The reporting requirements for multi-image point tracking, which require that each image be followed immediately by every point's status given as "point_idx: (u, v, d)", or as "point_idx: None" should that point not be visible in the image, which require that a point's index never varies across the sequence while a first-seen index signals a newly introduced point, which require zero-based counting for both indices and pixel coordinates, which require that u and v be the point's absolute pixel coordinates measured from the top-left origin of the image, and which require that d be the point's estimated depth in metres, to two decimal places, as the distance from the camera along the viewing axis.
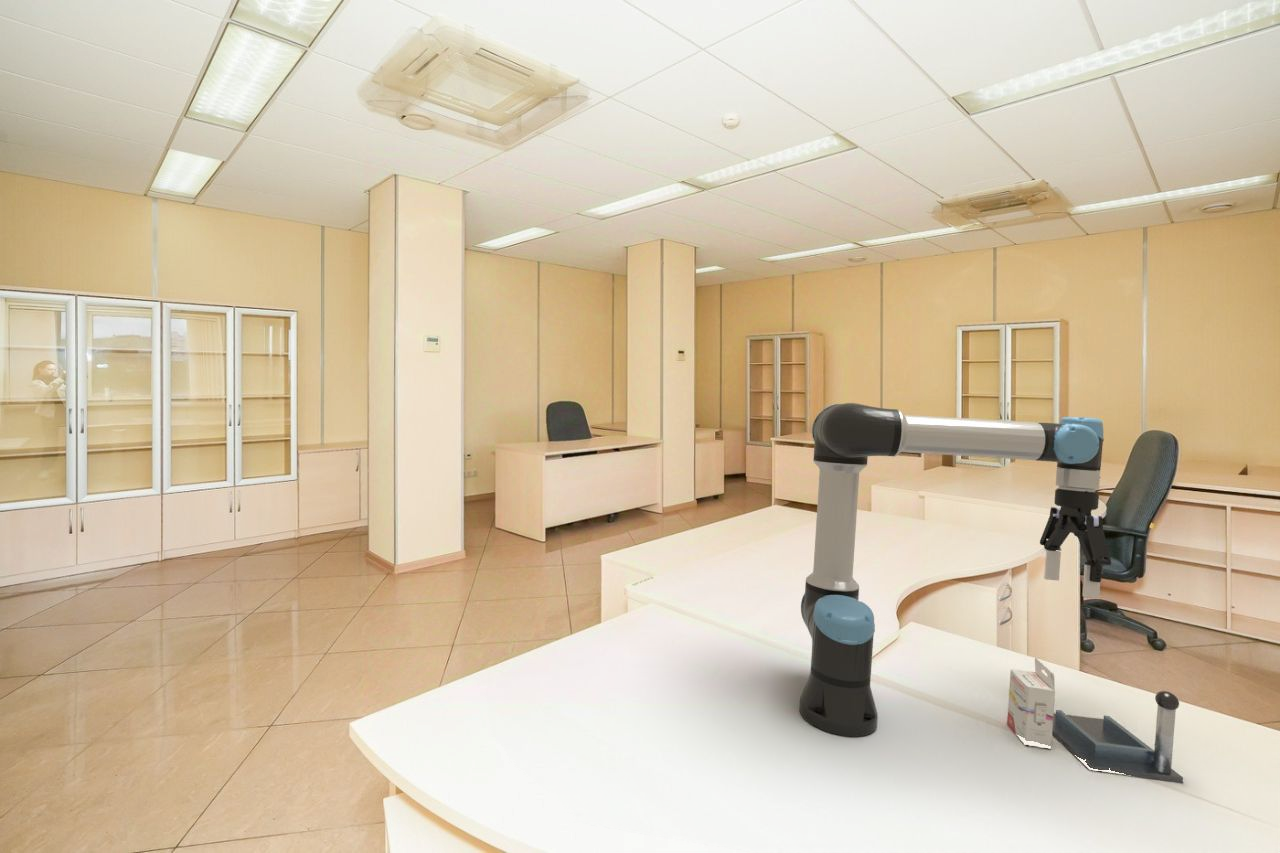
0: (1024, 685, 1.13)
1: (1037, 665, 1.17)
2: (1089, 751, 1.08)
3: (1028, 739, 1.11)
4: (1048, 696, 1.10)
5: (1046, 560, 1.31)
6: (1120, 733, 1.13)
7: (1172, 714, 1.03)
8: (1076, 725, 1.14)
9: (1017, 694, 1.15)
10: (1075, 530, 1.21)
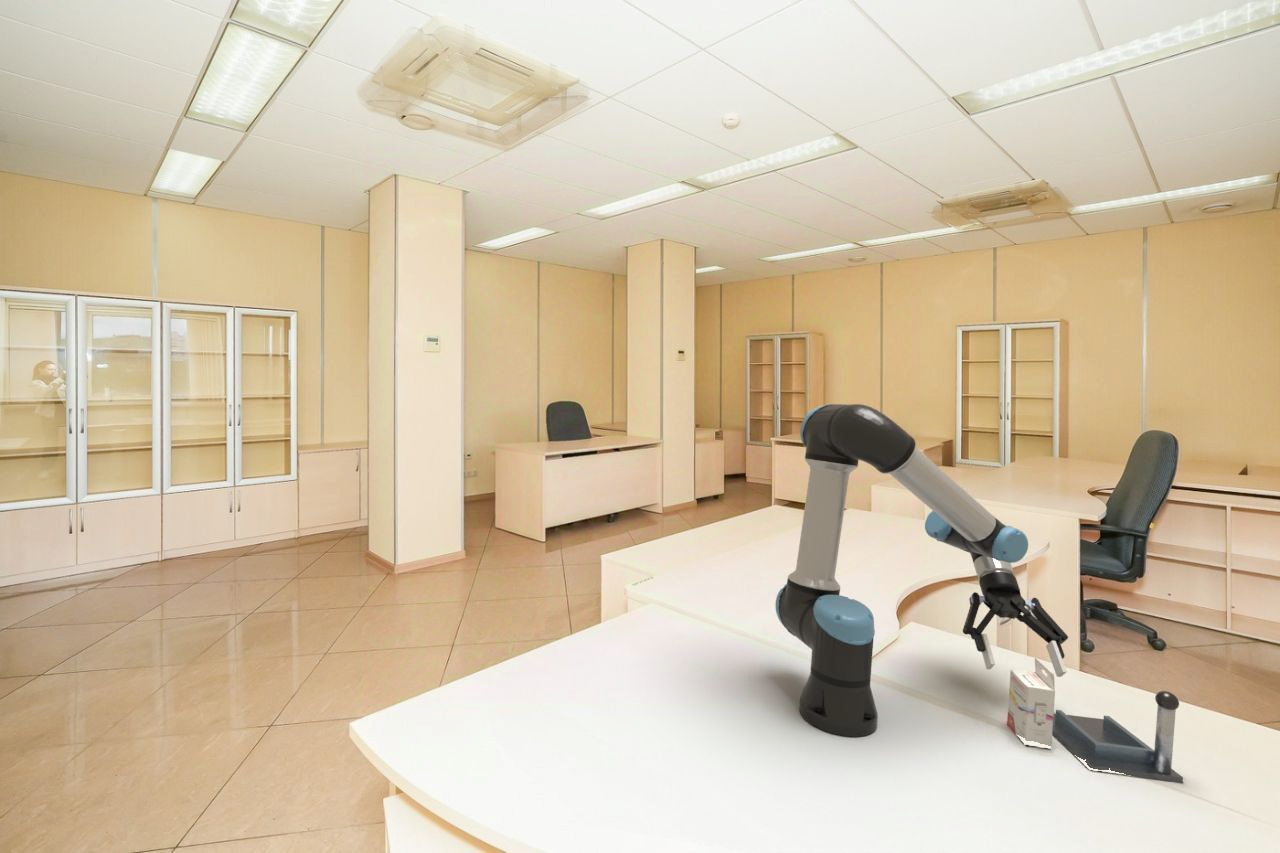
0: (1024, 685, 1.13)
1: (1037, 665, 1.17)
2: (1089, 751, 1.08)
3: (1028, 739, 1.11)
4: (1048, 696, 1.10)
5: (987, 644, 1.22)
6: (1120, 733, 1.13)
7: (1172, 714, 1.03)
8: (1076, 725, 1.14)
9: (1017, 694, 1.15)
10: (1027, 610, 1.26)
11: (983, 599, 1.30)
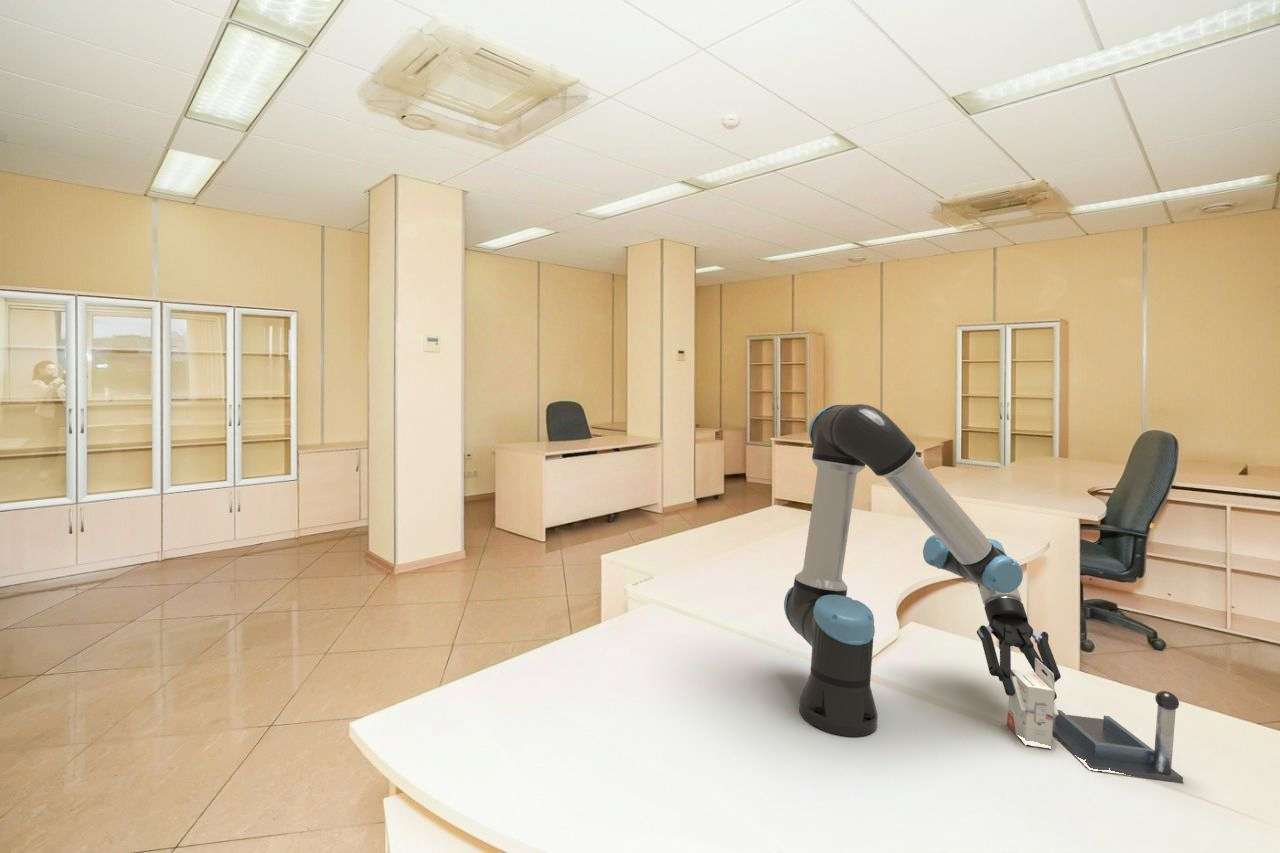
0: (1024, 685, 1.13)
1: (1037, 664, 1.17)
2: (1089, 751, 1.08)
3: (1028, 739, 1.11)
4: (1048, 695, 1.10)
5: (1017, 688, 1.15)
6: (1120, 733, 1.13)
7: (1172, 714, 1.03)
8: (1076, 725, 1.14)
9: None
10: (1030, 642, 1.20)
11: (990, 629, 1.24)
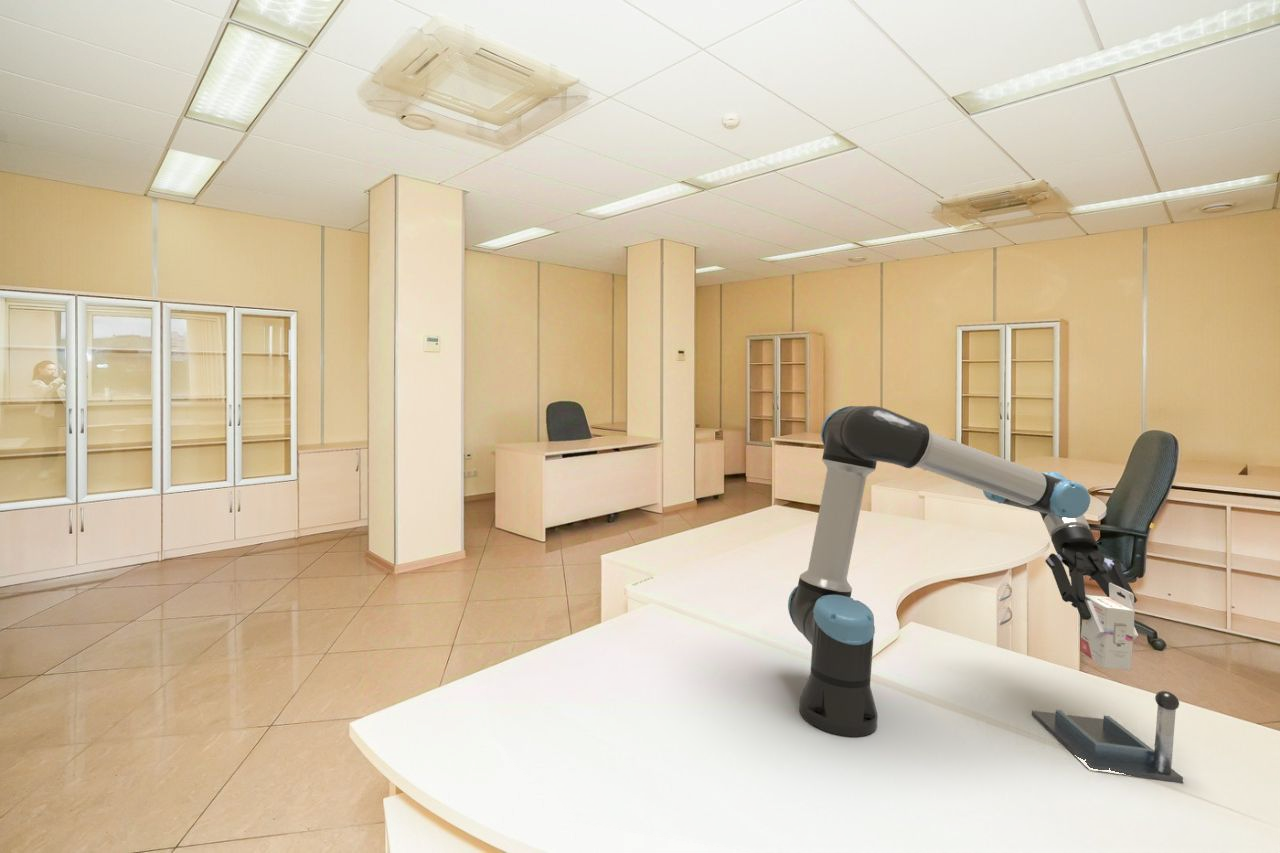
0: (1102, 607, 1.11)
1: (1112, 588, 1.15)
2: (1089, 751, 1.08)
3: (1107, 661, 1.09)
4: (1128, 616, 1.08)
5: (1093, 611, 1.13)
6: (1120, 733, 1.13)
7: (1172, 714, 1.03)
8: (1076, 725, 1.14)
9: None
10: (1103, 568, 1.18)
11: (1060, 557, 1.22)
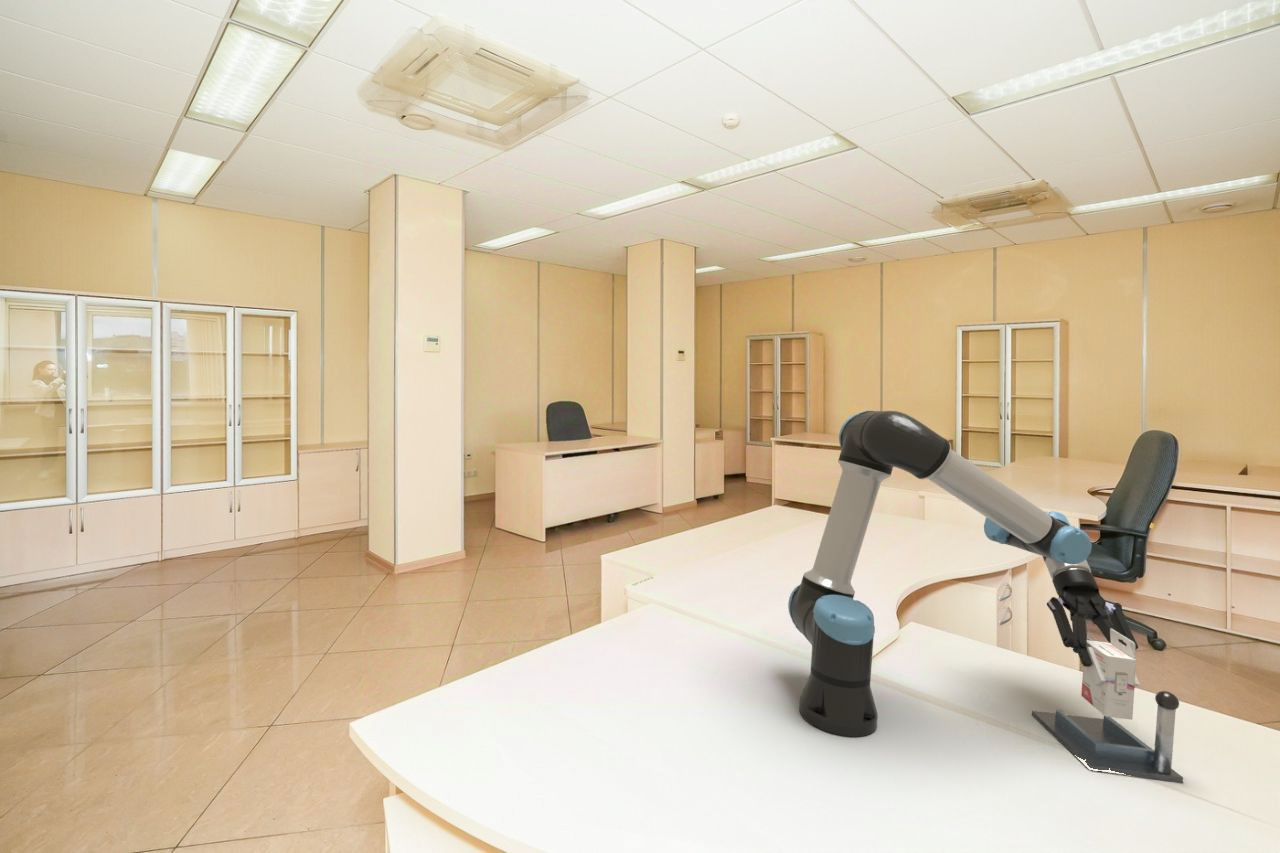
0: (1103, 655, 1.11)
1: (1113, 635, 1.15)
2: (1089, 751, 1.08)
3: (1108, 709, 1.09)
4: (1129, 665, 1.09)
5: (1094, 658, 1.13)
6: (1120, 733, 1.13)
7: (1172, 714, 1.03)
8: (1076, 725, 1.14)
9: None
10: (1104, 613, 1.18)
11: (1061, 601, 1.22)
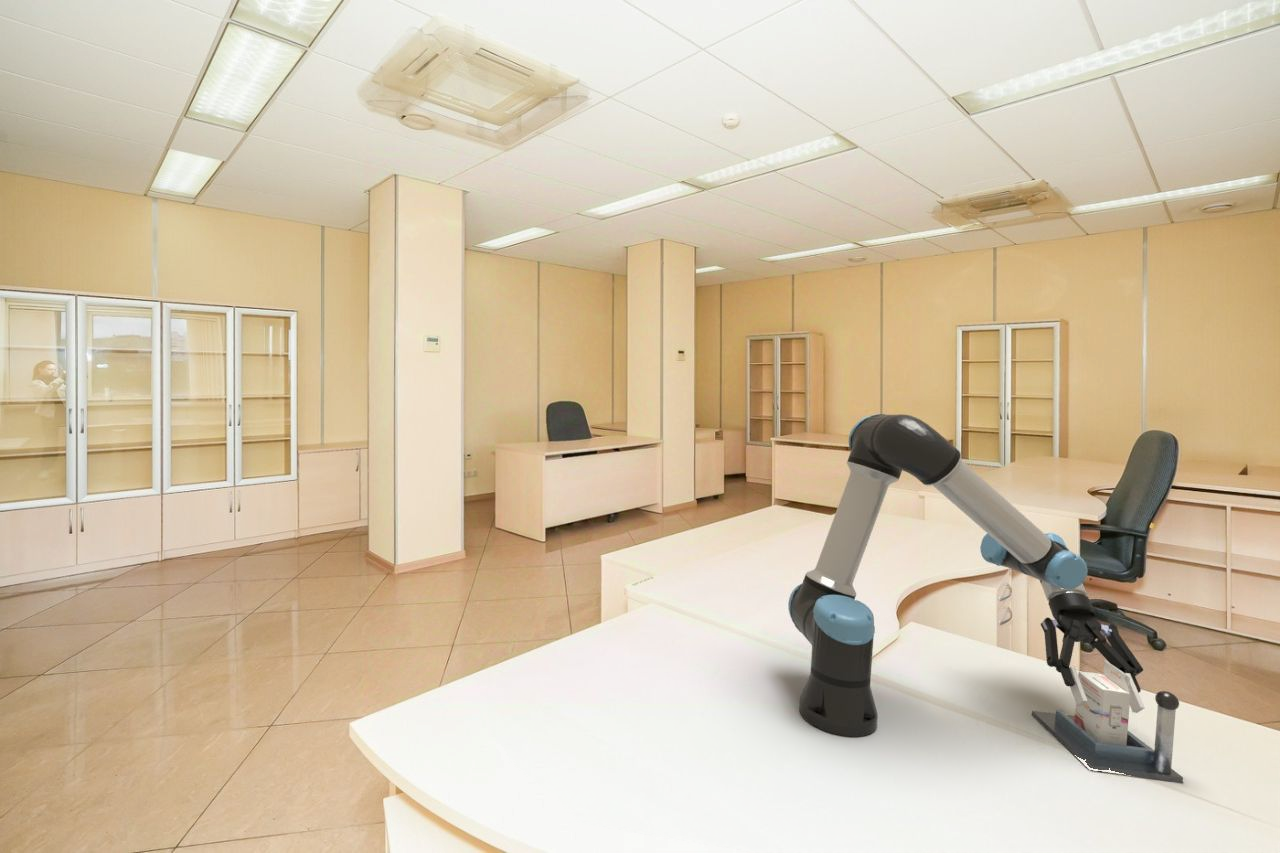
0: (1098, 688, 1.11)
1: (1107, 667, 1.15)
2: (1089, 751, 1.08)
3: None
4: (1124, 698, 1.09)
5: (1077, 678, 1.14)
6: None
7: (1172, 714, 1.03)
8: (1076, 725, 1.14)
9: (1089, 696, 1.13)
10: (1102, 636, 1.19)
11: (1056, 623, 1.22)
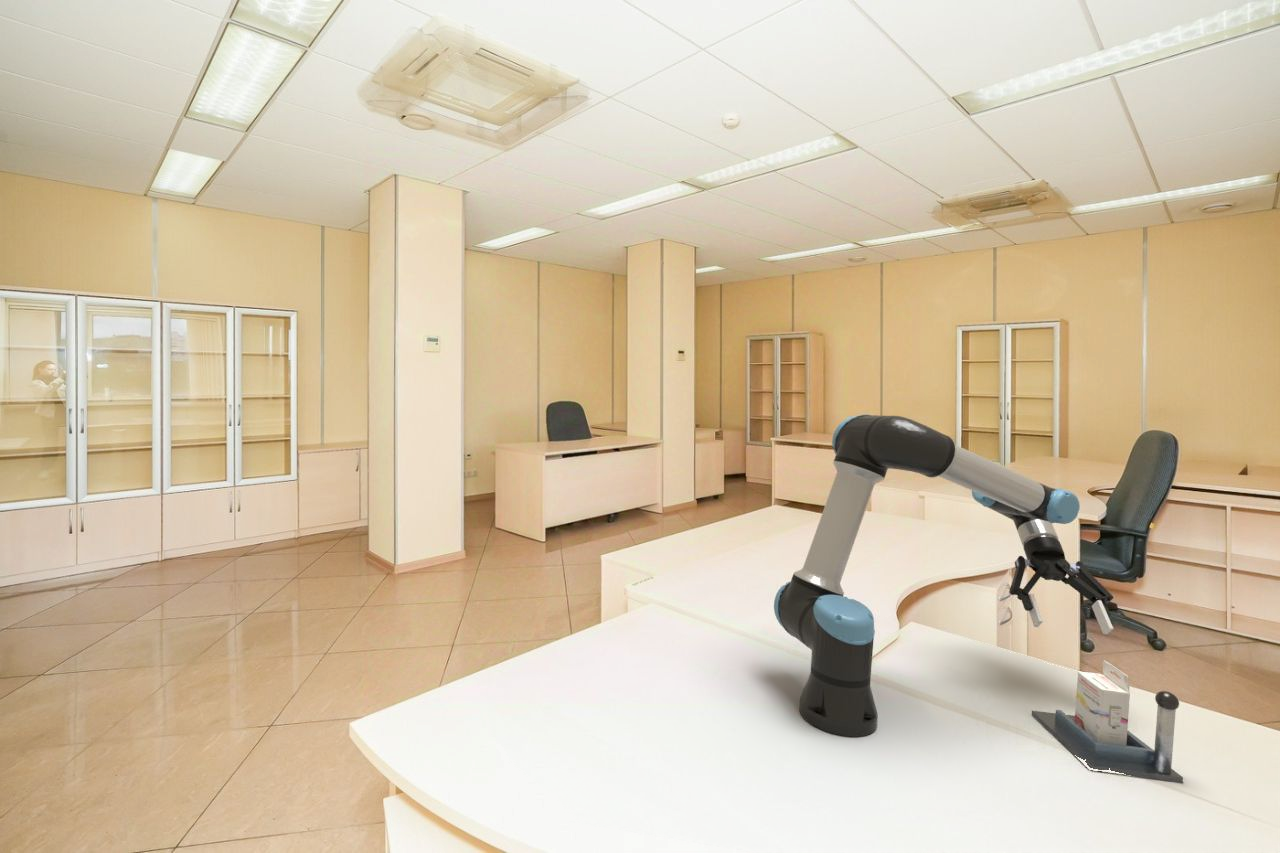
0: (1097, 688, 1.11)
1: (1106, 667, 1.15)
2: (1089, 751, 1.08)
3: None
4: (1123, 698, 1.09)
5: (1035, 603, 1.27)
6: None
7: (1172, 714, 1.03)
8: (1076, 725, 1.14)
9: (1088, 697, 1.13)
10: (1072, 572, 1.31)
11: (1028, 562, 1.35)
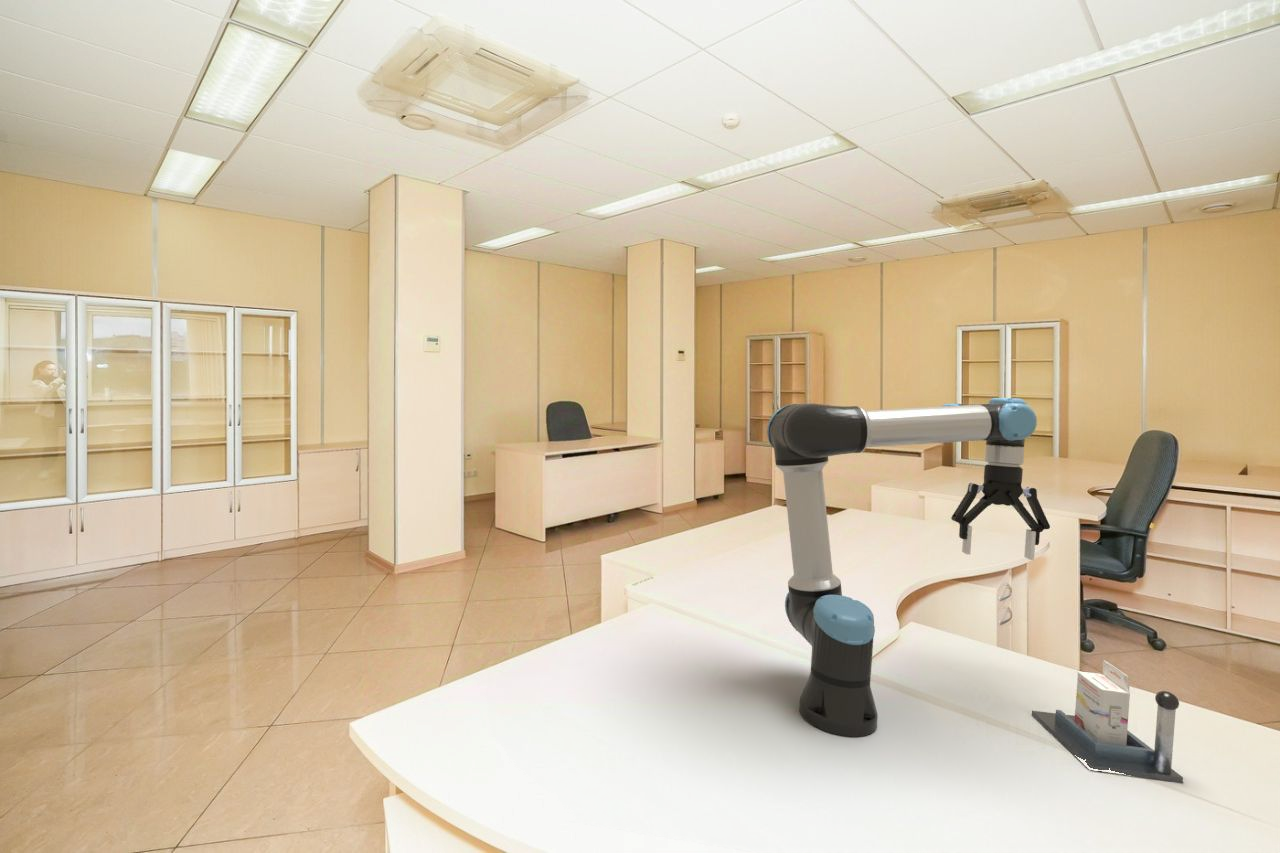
0: (1097, 688, 1.11)
1: (1106, 667, 1.15)
2: (1089, 751, 1.08)
3: None
4: (1123, 698, 1.09)
5: (969, 536, 1.34)
6: None
7: (1172, 714, 1.03)
8: (1076, 725, 1.14)
9: (1088, 697, 1.13)
10: (1020, 503, 1.32)
11: (981, 489, 1.34)
